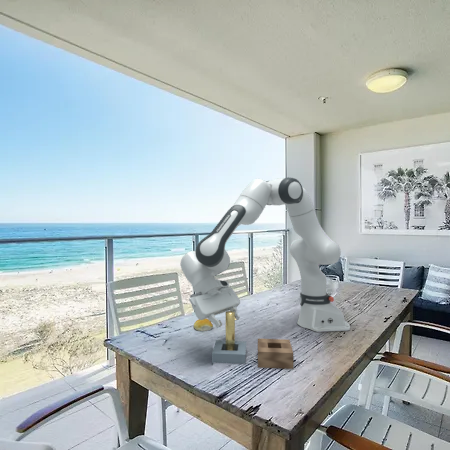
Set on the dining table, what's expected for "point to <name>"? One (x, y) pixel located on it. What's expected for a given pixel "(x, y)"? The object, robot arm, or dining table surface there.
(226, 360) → the slate socket block
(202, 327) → the bread roll
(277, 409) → the dining table surface
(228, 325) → the brass peg
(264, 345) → the walnut bore block
